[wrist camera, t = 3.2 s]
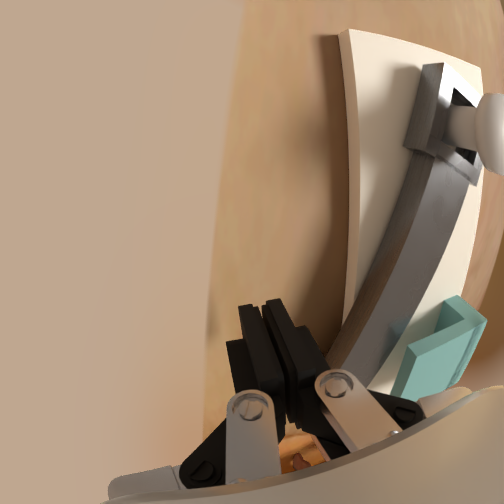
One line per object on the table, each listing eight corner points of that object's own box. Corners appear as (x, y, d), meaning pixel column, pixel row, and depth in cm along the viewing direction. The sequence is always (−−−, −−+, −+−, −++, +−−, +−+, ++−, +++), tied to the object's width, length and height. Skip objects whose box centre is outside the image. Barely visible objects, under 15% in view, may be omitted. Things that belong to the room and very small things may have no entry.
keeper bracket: (386, 320, 15) (417, 356, 12) (457, 294, 16) (487, 320, 13) (369, 384, 18) (390, 417, 15) (435, 355, 19) (458, 381, 16)
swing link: (422, 64, 9) (444, 62, 8) (473, 108, 10) (493, 110, 9) (287, 404, 16) (293, 423, 15) (343, 401, 18) (351, 416, 16)
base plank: (337, 34, 9) (412, 0, 5) (468, 68, 11) (535, 70, 6) (325, 430, 21) (345, 476, 17) (412, 395, 23) (437, 432, 18)
